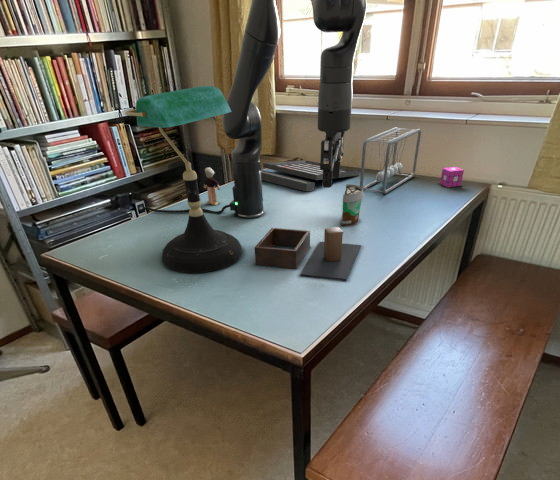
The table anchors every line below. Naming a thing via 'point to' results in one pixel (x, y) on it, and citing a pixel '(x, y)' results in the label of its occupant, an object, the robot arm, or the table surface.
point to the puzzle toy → (451, 177)
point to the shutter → (298, 173)
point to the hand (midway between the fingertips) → (331, 182)
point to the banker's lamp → (190, 179)
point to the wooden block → (333, 244)
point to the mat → (331, 263)
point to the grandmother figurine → (211, 186)
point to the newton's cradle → (394, 166)
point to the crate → (282, 256)
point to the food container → (351, 204)
